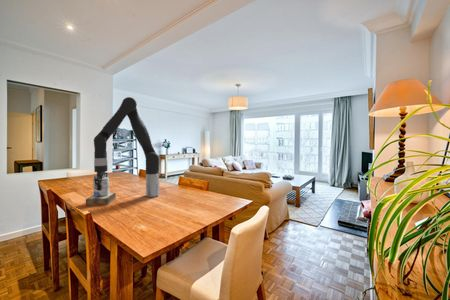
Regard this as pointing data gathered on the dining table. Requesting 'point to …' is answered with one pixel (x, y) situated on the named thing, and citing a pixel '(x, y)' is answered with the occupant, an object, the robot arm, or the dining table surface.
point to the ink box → (104, 187)
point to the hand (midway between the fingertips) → (101, 189)
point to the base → (101, 199)
